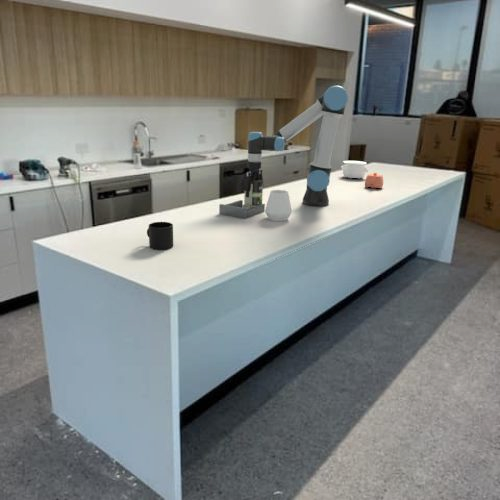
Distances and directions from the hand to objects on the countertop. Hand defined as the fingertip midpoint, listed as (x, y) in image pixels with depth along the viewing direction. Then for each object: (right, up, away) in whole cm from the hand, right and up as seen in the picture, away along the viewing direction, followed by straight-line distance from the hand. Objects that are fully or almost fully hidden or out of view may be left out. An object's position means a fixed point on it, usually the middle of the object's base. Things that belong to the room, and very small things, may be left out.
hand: (253, 201), depth 257 cm
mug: (-38, -26, -73) cm, 87 cm away
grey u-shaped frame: (-5, -8, -16) cm, 19 cm away
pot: (+79, +29, +100) cm, 130 cm away
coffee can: (0, -2, +1) cm, 3 cm away
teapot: (+84, +16, +62) cm, 106 cm away
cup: (+12, -12, -27) cm, 32 cm away
